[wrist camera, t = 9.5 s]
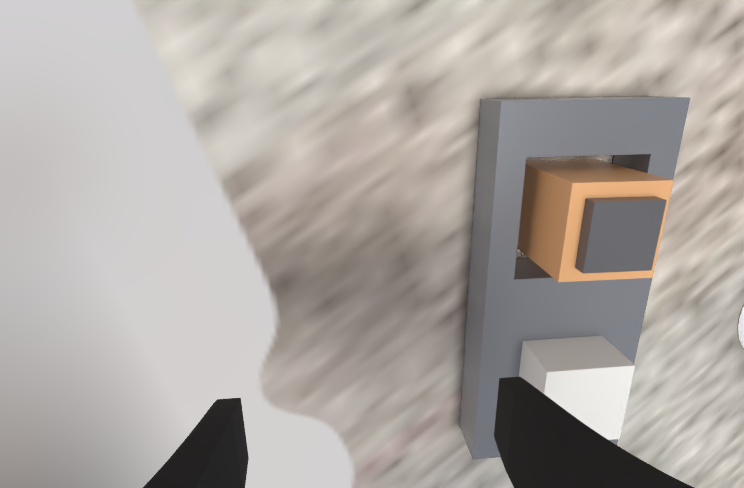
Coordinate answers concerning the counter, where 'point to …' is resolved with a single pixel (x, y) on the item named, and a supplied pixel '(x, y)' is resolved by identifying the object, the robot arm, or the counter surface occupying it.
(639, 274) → the orange plug
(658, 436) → the counter surface
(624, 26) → the counter surface
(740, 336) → the champagne flute
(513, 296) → the socket strip
